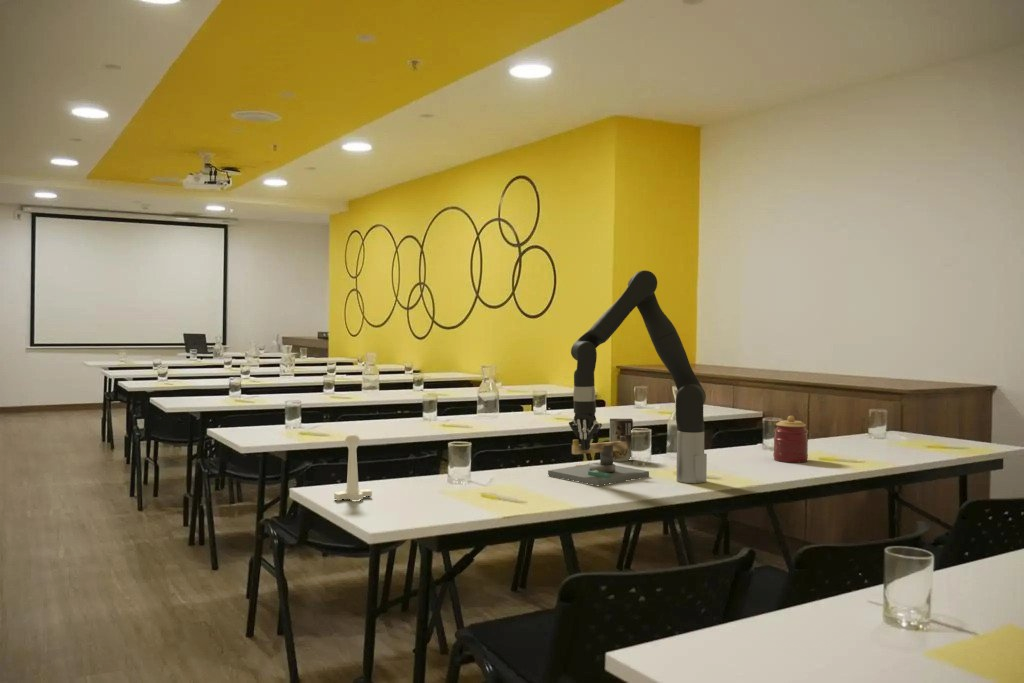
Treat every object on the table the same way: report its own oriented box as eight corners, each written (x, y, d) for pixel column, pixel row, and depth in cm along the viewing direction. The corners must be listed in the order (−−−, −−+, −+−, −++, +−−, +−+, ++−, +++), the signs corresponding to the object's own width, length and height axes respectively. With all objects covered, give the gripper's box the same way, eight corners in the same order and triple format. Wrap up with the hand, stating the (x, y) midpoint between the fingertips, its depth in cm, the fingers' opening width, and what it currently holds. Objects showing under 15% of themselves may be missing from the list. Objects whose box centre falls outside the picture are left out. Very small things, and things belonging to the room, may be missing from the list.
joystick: (367, 495, 267) (367, 431, 266) (375, 500, 260) (375, 434, 260) (332, 499, 262) (332, 434, 261) (340, 503, 255) (340, 437, 254)
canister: (812, 463, 329) (813, 417, 328) (778, 463, 329) (779, 417, 328) (801, 457, 342) (802, 413, 341) (769, 457, 342) (769, 413, 341)
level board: (648, 476, 299) (649, 466, 299) (597, 486, 282) (597, 475, 282) (598, 467, 317) (599, 457, 317) (548, 476, 300) (548, 465, 300)
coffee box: (632, 459, 337) (632, 418, 337) (633, 461, 331) (633, 420, 330) (609, 458, 338) (609, 418, 338) (609, 461, 332) (609, 420, 331)
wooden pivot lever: (617, 466, 307) (617, 434, 307) (632, 470, 300) (632, 437, 299) (566, 471, 297) (566, 438, 296) (580, 475, 289) (580, 441, 289)
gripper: (606, 399, 290) (607, 450, 290) (575, 397, 299) (576, 446, 299) (593, 401, 284) (594, 453, 285) (562, 399, 293) (563, 449, 294)
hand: (585, 449), depth 292 cm, fingers closed
